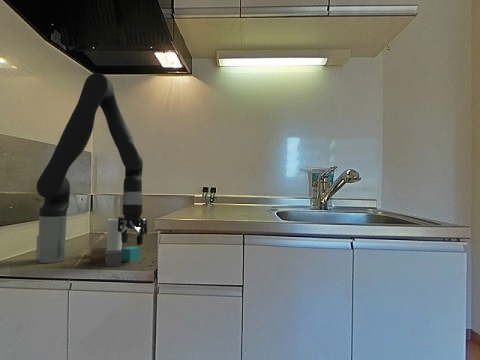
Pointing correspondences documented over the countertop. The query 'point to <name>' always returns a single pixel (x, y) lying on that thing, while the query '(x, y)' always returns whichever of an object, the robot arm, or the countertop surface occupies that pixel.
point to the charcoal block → (113, 258)
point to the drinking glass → (113, 235)
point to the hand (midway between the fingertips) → (131, 243)
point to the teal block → (130, 254)
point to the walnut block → (98, 256)
